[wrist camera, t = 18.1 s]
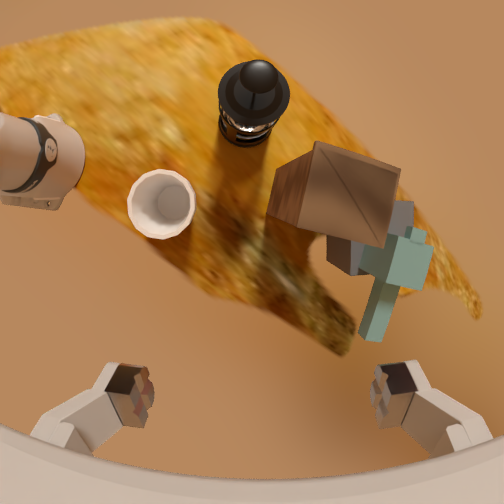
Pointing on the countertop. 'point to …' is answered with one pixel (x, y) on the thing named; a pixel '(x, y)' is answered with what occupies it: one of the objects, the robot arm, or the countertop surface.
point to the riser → (350, 252)
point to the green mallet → (392, 276)
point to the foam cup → (161, 204)
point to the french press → (251, 102)
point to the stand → (336, 194)
